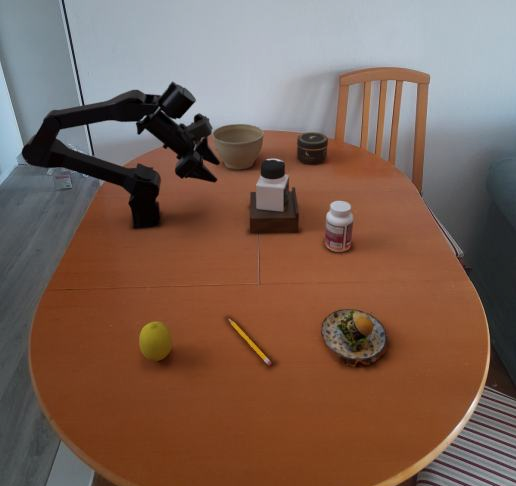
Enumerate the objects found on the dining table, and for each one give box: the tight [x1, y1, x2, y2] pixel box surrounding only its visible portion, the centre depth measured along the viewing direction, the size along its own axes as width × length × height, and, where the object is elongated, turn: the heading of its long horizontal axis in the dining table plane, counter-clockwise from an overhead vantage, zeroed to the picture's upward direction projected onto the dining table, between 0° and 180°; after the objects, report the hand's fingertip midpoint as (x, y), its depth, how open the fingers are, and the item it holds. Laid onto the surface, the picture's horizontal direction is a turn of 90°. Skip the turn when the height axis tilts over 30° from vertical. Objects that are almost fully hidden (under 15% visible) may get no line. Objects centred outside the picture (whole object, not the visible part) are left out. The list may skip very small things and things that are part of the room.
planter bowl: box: [211, 123, 265, 170], centre depth 143 cm, size 16×16×11 cm
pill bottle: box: [324, 200, 354, 253], centre depth 104 cm, size 6×6×11 cm
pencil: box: [228, 318, 273, 367], centre depth 81 cm, size 1×13×1 cm, turn 36°
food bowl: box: [320, 308, 388, 367], centre depth 80 cm, size 12×12×8 cm
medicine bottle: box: [255, 158, 290, 212], centre depth 112 cm, size 7×7×12 cm
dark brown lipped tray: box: [249, 186, 300, 234], centre depth 115 cm, size 12×13×6 cm
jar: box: [296, 131, 329, 165], centre depth 146 cm, size 10×10×8 cm
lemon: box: [138, 321, 173, 362], centre depth 77 cm, size 6×6×8 cm
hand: (217, 172), depth 111 cm, fingers open, 9 cm apart
